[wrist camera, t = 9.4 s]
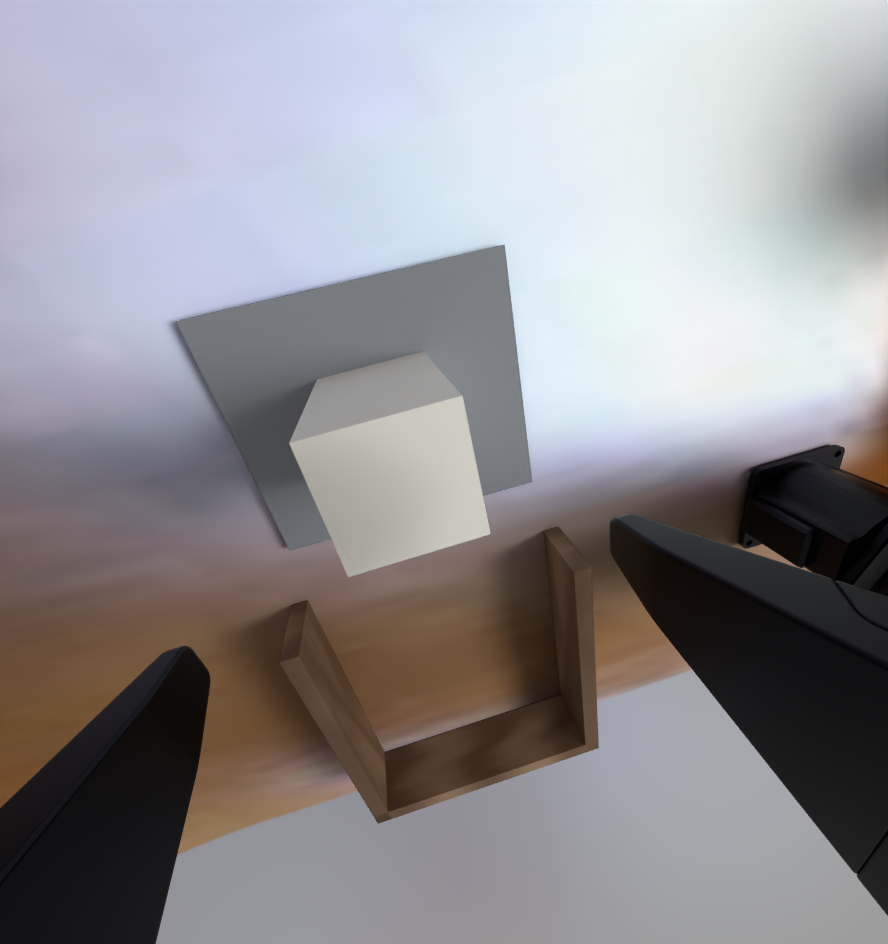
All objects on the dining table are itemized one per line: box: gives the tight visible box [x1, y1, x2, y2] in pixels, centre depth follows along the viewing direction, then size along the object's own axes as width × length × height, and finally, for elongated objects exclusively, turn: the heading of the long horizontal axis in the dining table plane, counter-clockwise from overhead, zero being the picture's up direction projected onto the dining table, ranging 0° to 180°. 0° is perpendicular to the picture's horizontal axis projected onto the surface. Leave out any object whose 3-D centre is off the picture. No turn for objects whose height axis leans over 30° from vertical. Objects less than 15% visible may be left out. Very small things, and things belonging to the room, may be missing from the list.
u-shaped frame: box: [279, 527, 599, 823], centre depth 27 cm, size 17×18×4 cm
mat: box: [176, 245, 532, 551], centre depth 19 cm, size 14×12×1 cm
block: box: [289, 351, 490, 577], centre depth 16 cm, size 5×5×8 cm
